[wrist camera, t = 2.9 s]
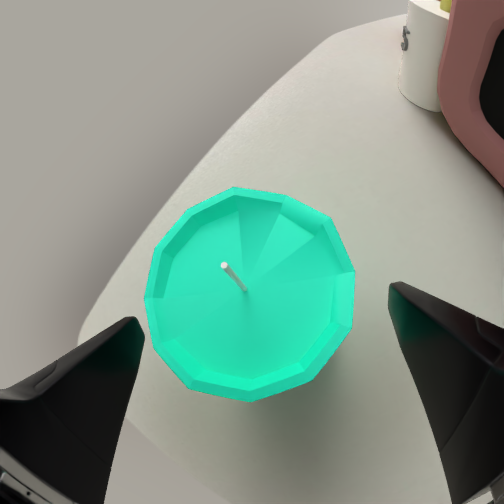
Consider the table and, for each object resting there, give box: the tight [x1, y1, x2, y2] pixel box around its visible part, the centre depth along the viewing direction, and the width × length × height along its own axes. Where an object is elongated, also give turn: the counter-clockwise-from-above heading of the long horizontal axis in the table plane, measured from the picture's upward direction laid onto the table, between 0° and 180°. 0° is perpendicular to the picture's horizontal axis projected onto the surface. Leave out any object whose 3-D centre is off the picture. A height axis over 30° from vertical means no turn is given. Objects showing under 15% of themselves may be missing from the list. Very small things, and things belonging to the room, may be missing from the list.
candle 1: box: [144, 187, 355, 402], centre depth 11 cm, size 6×6×12 cm
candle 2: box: [398, 0, 452, 112], centre depth 15 cm, size 6×6×15 cm
